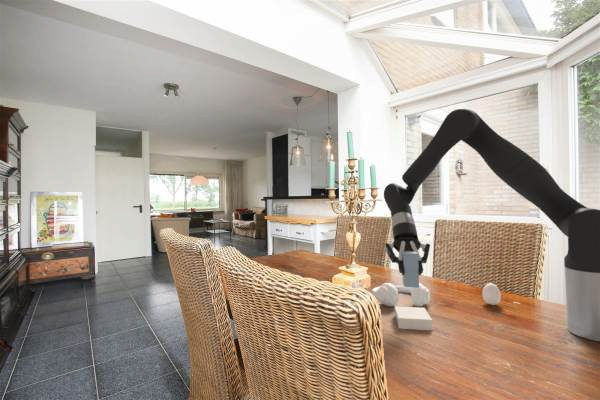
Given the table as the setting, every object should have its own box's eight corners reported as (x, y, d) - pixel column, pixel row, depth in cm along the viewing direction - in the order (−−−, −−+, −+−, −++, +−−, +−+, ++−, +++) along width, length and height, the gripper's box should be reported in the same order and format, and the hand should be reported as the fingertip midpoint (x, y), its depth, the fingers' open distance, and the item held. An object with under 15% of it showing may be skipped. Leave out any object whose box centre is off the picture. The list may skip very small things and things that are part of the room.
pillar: (402, 283, 86) (401, 251, 86) (416, 283, 85) (415, 251, 85) (404, 287, 82) (403, 253, 82) (419, 287, 81) (418, 253, 81)
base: (425, 317, 87) (424, 307, 87) (432, 330, 78) (432, 319, 78) (395, 315, 89) (394, 306, 89) (398, 328, 80) (398, 318, 80)
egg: (501, 308, 91) (500, 286, 91) (482, 305, 95) (481, 284, 95) (501, 303, 96) (500, 282, 96) (483, 301, 99) (482, 280, 99)
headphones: (437, 309, 92) (418, 295, 112) (435, 284, 93) (416, 275, 113) (377, 309, 94) (369, 295, 114) (376, 285, 95) (368, 275, 115)
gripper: (382, 221, 92) (387, 266, 80) (428, 221, 89) (440, 267, 77) (381, 235, 98) (386, 279, 86) (424, 235, 95) (435, 281, 83)
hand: (411, 273), depth 82 cm, fingers closed on pillar, 4 cm apart
